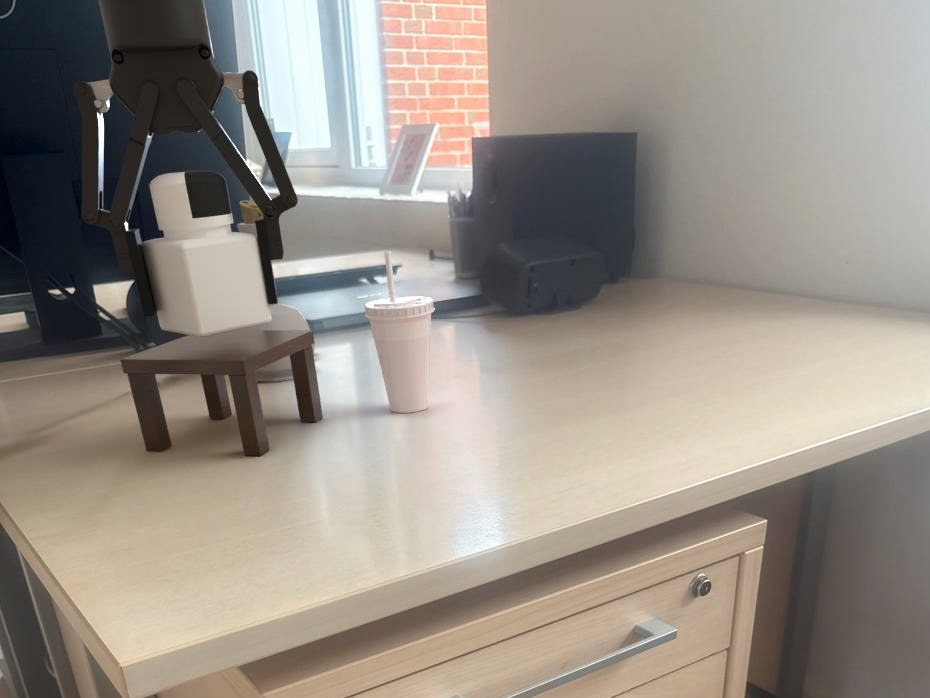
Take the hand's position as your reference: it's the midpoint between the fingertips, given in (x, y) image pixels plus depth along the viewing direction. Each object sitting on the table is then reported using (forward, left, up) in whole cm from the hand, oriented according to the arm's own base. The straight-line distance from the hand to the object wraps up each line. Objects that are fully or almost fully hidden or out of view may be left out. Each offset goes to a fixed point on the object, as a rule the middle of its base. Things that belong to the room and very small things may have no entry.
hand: (212, 307), depth 78 cm
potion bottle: (-8, +22, -11) cm, 26 cm away
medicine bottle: (0, 0, -2) cm, 2 cm away
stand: (0, 0, -11) cm, 11 cm away
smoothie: (+13, +10, -11) cm, 20 cm away
